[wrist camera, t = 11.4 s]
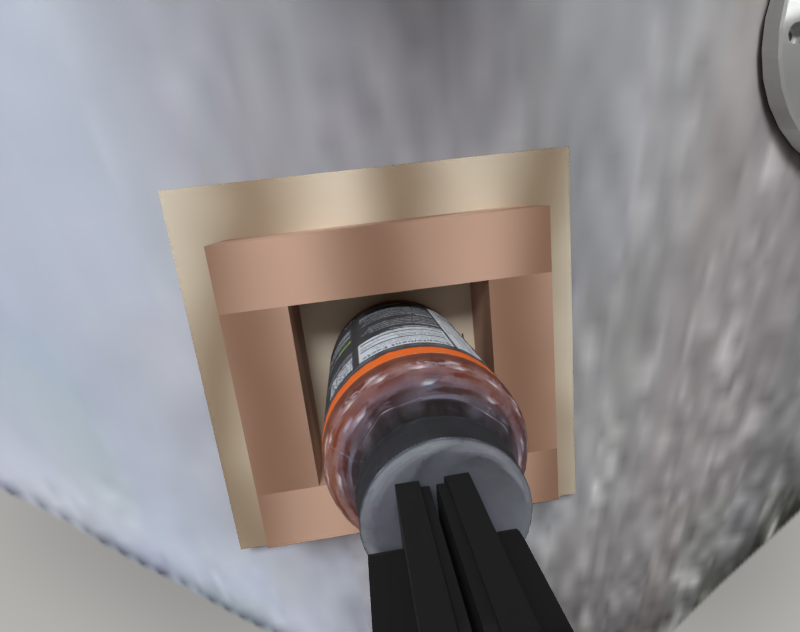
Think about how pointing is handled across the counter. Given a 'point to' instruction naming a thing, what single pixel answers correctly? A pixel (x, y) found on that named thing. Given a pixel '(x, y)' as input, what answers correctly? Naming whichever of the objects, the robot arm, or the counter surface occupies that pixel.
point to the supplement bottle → (417, 422)
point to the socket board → (361, 288)
